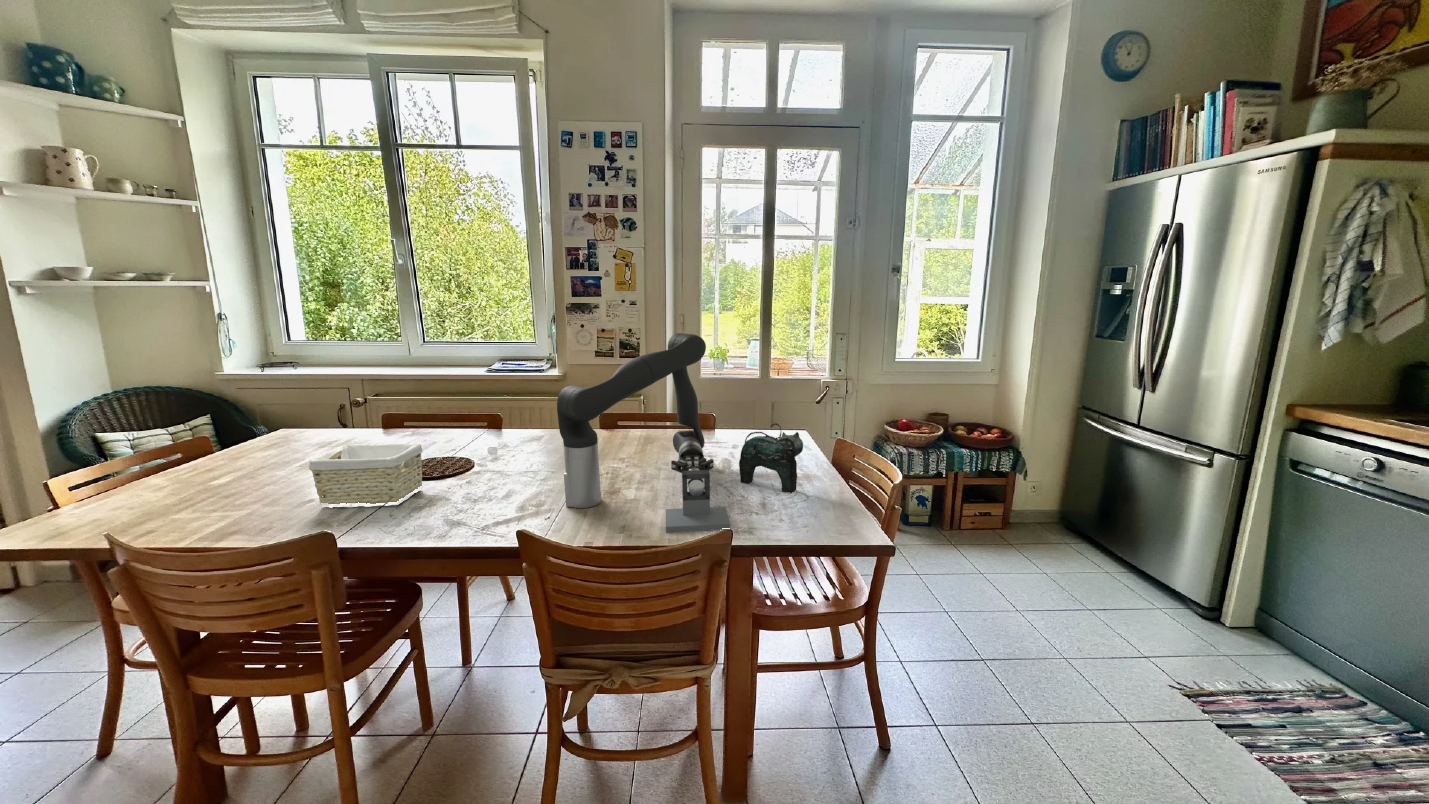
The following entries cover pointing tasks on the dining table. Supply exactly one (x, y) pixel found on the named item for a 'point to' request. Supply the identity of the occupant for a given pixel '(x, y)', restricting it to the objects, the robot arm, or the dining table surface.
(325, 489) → the storage basket
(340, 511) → the dining table surface
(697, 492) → the steel peg
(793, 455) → the ceramic cat
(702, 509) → the base plate
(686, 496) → the rubber collar
